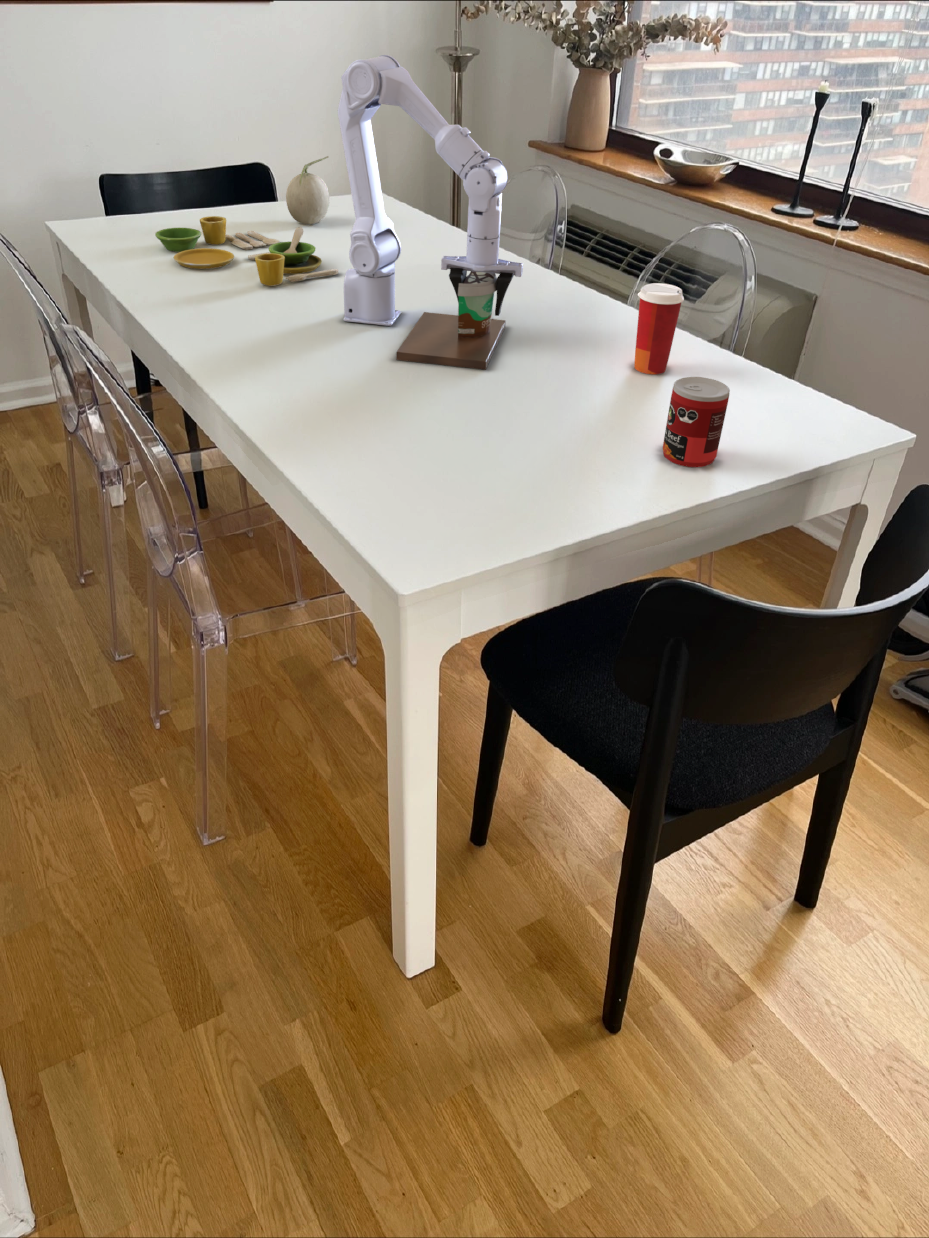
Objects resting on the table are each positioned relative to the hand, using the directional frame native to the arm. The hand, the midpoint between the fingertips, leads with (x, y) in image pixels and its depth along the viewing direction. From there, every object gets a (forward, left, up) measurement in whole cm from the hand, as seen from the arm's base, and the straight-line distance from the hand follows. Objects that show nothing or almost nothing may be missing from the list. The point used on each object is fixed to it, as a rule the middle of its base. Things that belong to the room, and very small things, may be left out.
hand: (479, 312), depth 180 cm
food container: (0, 0, -4) cm, 4 cm away
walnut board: (-4, -4, -5) cm, 7 cm away
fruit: (-55, +67, -5) cm, 87 cm away
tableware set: (-59, +32, -5) cm, 67 cm away
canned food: (+39, -40, -5) cm, 56 cm away
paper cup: (+32, -6, -5) cm, 33 cm away
